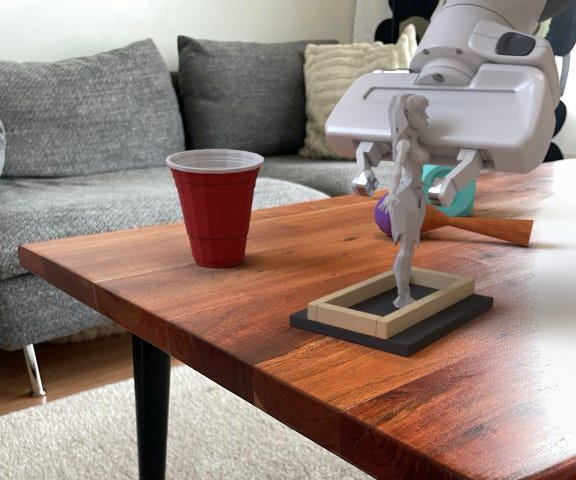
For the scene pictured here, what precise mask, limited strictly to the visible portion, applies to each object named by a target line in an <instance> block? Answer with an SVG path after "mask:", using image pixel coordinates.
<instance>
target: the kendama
mask: <svg viewBox="0 0 576 480" xmlns="http://www.w3.org/2000/svg"><path fill="white" fill-rule="evenodd" d="M387 195H389V191H388V192H387V193H385V194H383V196H381V197H380V198H379V199H378V201H377V203H376V205H375V207H374V212H373V215H374V220H375V225H376V226H377V227H378V228H379V230H380V231H381V232H382V233H383V234H385V235H387V236H388V237H393V236H392V226H391V219H390V215H389V210H388V211H387V214H385V212H386V208H387V206H386V207H385V208H384V210H383V211H382V212H381V210H382V208H383V206H384V205H383V206H382V207H381V208H380V209H379V208H378V207H379V206H380V205H381V204H382V203H383V201H384V199H385V197H386V196H387ZM534 221H535V220H534V219H521V218H491V217H490V218H489V217H449V216H447V215H446V214H444V213H443V212H441V211H440V210H438V209H437V208H435V207H434V206H432V205H431V204H429V203H428V202H426V214H425V220H424V221H423V223H422V226H421V229H420V234H423V233H426V232H430V231H433V230H434V231H435V230H437V229H441V228H445V227H452V228H456V229H460V230H463V231H467V232H470V233H474V234H478V235H481V236H485V237H490V238H492V239H497V240H500V241H505V242H509V243H512V244H515V245H520V246H523V247H527V248H528V247H529V245H530V244H529V243H530V240H531V236H532V231H533V226H534Z"/></svg>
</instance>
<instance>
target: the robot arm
mask: <svg viewBox="0 0 576 480" xmlns="http://www.w3.org/2000/svg"><path fill="white" fill-rule="evenodd" d="M574 2H575V0H445V3H444V4H443V5H442V6H441V7H440V8H439V9H438V10H437V11H436V13H435V14H434V16H433V17H432V19H431V21H430V23H429V25H427V26H428V27H427V28H426V30H425V32H424V34H423V36H422V38H421V40H420V42H419V44H418V46H417V48H416V49H415V51H414V54H413V55H412V57H411V59H410V61H409V65H408V67H398V68H388V67H387V68H386V67H377V68H373V70H372V72H369V73H368V72H367V73H365V74H362V75H361V76H359V77H358V78H356V79H355V80H354V81H353V83H351V85H350V86H349V87H348V88H347V90H346V91H345V92H344V94H343V95H342V96H341V98H340V99H339V101H338V102H337V104H335V106H334V108H333V109H332V111H331V113H330V115H329V116H328V117H327V119H326V121H325V123H324V132H325V135H326V137H327V140H328V142H329V144H330V146H331V147H332V149H333V150H334V152H335V153H336V155H338V156H339V157H342V158H349V159H350V158H352V159H356V166H357V171H356V174H355V176H354V177H353V179H352V182H351V189H352V191H353V193H354V194H355V196H358V197H365V198H373V197H374V195H375V191H376V190H377V189H378V187H379V185H380V182H379V179H378V178H377V177H376V175H375V173H374V170H372V168H376V169H377V168H378V167H379V165H380V163H381V161H382V162H383V161H384V162H393V163H395V162H394V161H393V144H392V139H391V131H390V125H389V117H388V109H389V106H390V103H391V100H392V98H393V96H394V95H399V94H401V93H407V94H408V93H413V94H414V95H421V96H424V97H426V98H427V99H428V100H429V106H427V107H428V108H427V107H426V110H425V111H424V112H426V113H427V116H428V117H429V119H427V122H428V126H427V128H426V130H425V131H421V130H417V131H418V132H417V135H418V136H417V139H416V140H417V142H418V143H419V144H420V145H421V146H422V148H424V149H425V150H426V151H427V152H428V153H429V155H430V157H431V159H430V161H429V162H428V163H427V164H426V165H436V166H447V167H455V168H454V169H453V170H452V171H451V172H450V173H449V174H448V175H446V176H445V177H444V178H441V177H435V179H434V181H433V183H432V185H433V186H432V187H431V188H430V189H429V192H428V198H429V200H430V201H431V204H432V205H434V206H440V207H450V205H451V203H452V201H453V199H454V197H455V195H456V193H457V192H459V191H461V190H462V189H463V188H465V187H466V186H467V185H469V184H470V183H471V182H473V181H474V180H475V179H476V180H477V179H478V178H479V176H480V174H481V171H490V172H499V173H512V174H521V175H526V174H529V173H531V172H533V171H534V170H535V169H536V168H539V167H540V166H541V165H542V164H543V162H544V160H545V157H546V156H547V153H548V150H549V149H550V145H551V142H552V139H553V136H554V133H555V128H556V124H557V123H556V122H557V119H556V113H555V110H556V109H557V108H558V106H559V104H560V101H561V82H560V75H559V69H558V64H557V61H556V57H555V54H554V50H553V48H552V46H551V43H550V41H549V40H548V39H546V38H544V37H540V36H538V35H537V36H536V35H533V34H534V32H535V31H536V30H537V28H538V26H539V24H542V23H544V22H546V21H548V20H550V19H552V18H554V17H556V16H557V15H559V14H561V13H562V12H564V11H565V10H567V9H569V8H570V6H571V5H572V4H573V3H574Z"/></svg>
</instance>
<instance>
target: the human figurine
mask: <svg viewBox="0 0 576 480" xmlns="http://www.w3.org/2000/svg"><path fill="white" fill-rule="evenodd" d="M427 106H429V100H428V99H427V98H426V97H424V96H421V95H414V94H413V93H408V94H407V93H401V94H399V95H394V96H393V98H392V100H391V103H390V106H389V109H388V117H389V125H390V131H391V139H392V144H393V161H394V162H393V161H392V162H393V163H394V164H395V169H394V170H393V172H392V174H391V175H390V178H389V183H388V192H389V195H387V196H386V197H385V199H384V201H383V203H382V204H381V205H380V206H379V207H378V208H379V209H380V208H381V207H382V206H383V205H384V206H383V208H382V210H381V212H382V211H383V210H384V208H385V207H386V206H387V208H386V212H385V214H387V211H388V210H389V215H390V219H391V226H392V236H391V237H392V239H393V243H394V247H395V248H396V247H397V245H398V243H399V241H400V247H399V251H398V252H397V254H396V256H395V258H394V261H393V265H392V269H393V272H394V275H395V279H396V283H397V287H398V291H397V292H398V295H399V296H398V297H397V298H396V299H395V300H394V301H393V304H394V305H395V306H396V307H397V308H403V307H405V306H407V305H409V304H411V303H414V302H416V300H414V299H413V298H412V297H411V296H410V288H409V281H410V277H411V267H412V266H413V261H414V256H415V252H416V251H415V245H416V248H417V250H418V251H419V250H420V238H421V233H420V229H421V226H422V223H423V221H424V220H425V214H426V195H425V194H424V191H423V189H422V185H426V186H428V184H426V183H425V182H423V181H422V175H423V172H424V171H423V166H425V165H426V164H427V163H428V162H429V161H430V159H431V157H430V155H429V153H428V152H427V151H426V150H425V149H424V148H422V146H421V145H420V144H419V143H418V142H417V140H416V139H417V136H418V135H417V132H418V131H417V130H421V131H425V130H426V128H427V126H428V122H427V119H429V117H428V116H427V113H426V112H424V111H425V110H426V107H427ZM427 108H428V107H427ZM402 168H404V172H405V179H404V180H403V181H401V179H402Z"/></svg>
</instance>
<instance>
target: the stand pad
mask: <svg viewBox="0 0 576 480" xmlns="http://www.w3.org/2000/svg"><path fill="white" fill-rule="evenodd" d="M476 280H477V279H476V278H475V277H471V276H464V275H460V274H455V273H450V272H444V271H439V270H434V269H427V268H421V267H418V266H411V277H410V281H409V288H410V296H411V297H412V298H413V299H414V300H416V302H414V303H411V304H409V305H407V306H405V307H403V308H397V307H396V306H395V305H394V304H393V301H394V300H395V299H396V298H397V297H398V296H399V295H398V292H397V291H398V287H397V283H396V279H395V275H394V272H393V268H392V269H390V270H387V271H384V272H382V273H379V274H377V275H375V276H372V277H370V278H367V279H365V280H362V281H360V282H357V283H355V284H352V285H350V286H347V287H344V288H343V289H340V290H337V291H334V292H332V293H330V294H327V295H324V296H322V297H320V298H316V299H314V300H313V301H310V302H308V303H307V307H306V308H303V309H301V310H298V311H296V312H294V313H291V314H289V326H291V327H293V328H294V327H295V328H298V329H301V330H306V331H309V332H312V333H316V334H320V335H323V336H328V337H331V338H335V339H339V340H343V341H347V342H350V343H353V344H357V345H361V346H365V347H368V348H371V349H372V348H373V349H376V350H379V351H382V352H383V351H384V352H387V353H391V354H395V355H398V356H402V357H406V358H408V357H410V356H412V355H413V354H415V353H416V352H419V351H420V350H422V349H423V348H426V347H427V346H428V345H431V344H432V343H434V342H435V341H437V340H439V339H441V338H442V337H444V336H446V335H448V334H449V333H451V332H453V331H454V330H457V329H458V328H460V327H462V326H463V325H465V324H466V323H468V322H470V321H472V320H474V319H475V318H477V317H479V316H481V315H483V313H485V312H487V311H489V310H491V309H492V308H493V307H494V299H495V298H494V297H493V296H488V295H485V294H479V293H475V288H476Z"/></svg>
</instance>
